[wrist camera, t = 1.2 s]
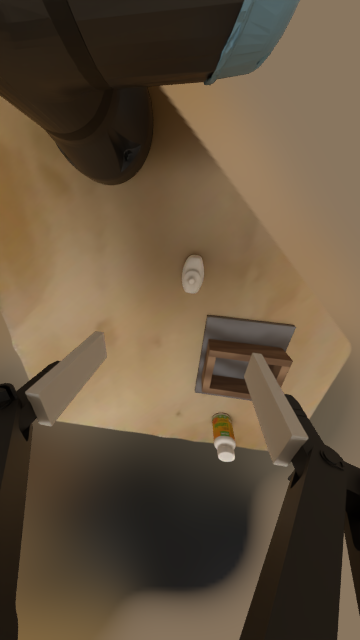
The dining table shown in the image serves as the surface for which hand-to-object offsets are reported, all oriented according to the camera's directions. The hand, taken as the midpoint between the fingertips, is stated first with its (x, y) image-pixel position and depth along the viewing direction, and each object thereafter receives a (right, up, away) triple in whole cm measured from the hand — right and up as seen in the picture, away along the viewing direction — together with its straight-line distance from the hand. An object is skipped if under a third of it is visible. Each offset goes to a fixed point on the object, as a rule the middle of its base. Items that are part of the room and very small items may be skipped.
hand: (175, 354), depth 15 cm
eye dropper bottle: (+3, +13, +18) cm, 22 cm away
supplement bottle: (+13, -26, +34) cm, 44 cm away
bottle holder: (+14, -7, +25) cm, 29 cm away
